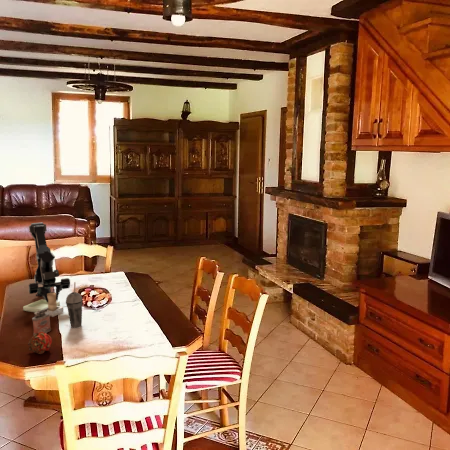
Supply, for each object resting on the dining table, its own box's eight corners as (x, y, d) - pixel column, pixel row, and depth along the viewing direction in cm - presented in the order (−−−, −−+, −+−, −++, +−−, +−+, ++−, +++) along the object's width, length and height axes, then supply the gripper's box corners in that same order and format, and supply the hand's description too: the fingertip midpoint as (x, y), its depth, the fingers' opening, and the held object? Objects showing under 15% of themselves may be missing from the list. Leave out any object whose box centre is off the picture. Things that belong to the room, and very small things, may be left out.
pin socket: (52, 310, 237) (52, 305, 237) (63, 312, 235) (63, 307, 234) (42, 314, 231) (41, 309, 231) (53, 316, 228) (52, 311, 228)
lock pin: (52, 311, 235) (51, 291, 234) (59, 312, 234) (57, 292, 232) (46, 314, 232) (45, 294, 230) (53, 315, 230) (51, 295, 229)
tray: (41, 302, 249) (41, 299, 248) (59, 305, 244) (59, 301, 244) (23, 310, 238) (23, 306, 238) (42, 313, 233) (41, 309, 233)
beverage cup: (64, 327, 214) (60, 284, 211) (76, 322, 221) (72, 279, 217) (76, 330, 211) (72, 286, 208) (88, 324, 217) (85, 281, 214)
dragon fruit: (40, 362, 184) (39, 354, 195) (57, 346, 187) (56, 339, 198) (24, 347, 182) (24, 340, 193) (42, 330, 184) (41, 324, 196)
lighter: (37, 336, 205) (34, 313, 204) (31, 334, 207) (29, 312, 205) (52, 330, 212) (50, 308, 210) (47, 328, 214) (45, 306, 212)
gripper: (27, 267, 228) (31, 296, 220) (68, 262, 236) (73, 289, 229) (27, 279, 237) (31, 307, 229) (66, 273, 245) (72, 301, 237)
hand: (52, 301), depth 230 cm, fingers closed on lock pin, 4 cm apart
